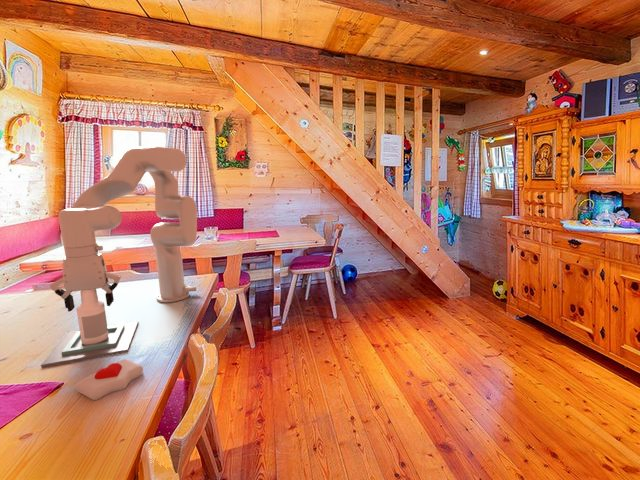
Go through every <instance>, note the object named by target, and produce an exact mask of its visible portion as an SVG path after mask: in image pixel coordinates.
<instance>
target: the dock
mask: <svg viewBox="0 0 640 480" xmlns="http://www.w3.org/2000/svg"><path fill="white" fill-rule="evenodd" d="M138 325H139V321H138V320H136V321H129V322H124V323H118V324H110V325H107V328H108V338H107V339H106V340H104V341H102V342H100V343H96V344H91V345H85V344H83V343H82V342H81V335H80V329H79V330H77V329H76V330H72V331H67V332H66V333H65V334H64V336H63V337H62V339H61V340H60V341H59V342H58V343H57V344H56V346H55V347H54V348H53V349H52V351H51V352H50V353H49V354H48V356H47V357H46V358H44V361H43V362H42V363H41V365H40V367H41V368H47V367H51V366H53V367H54V366H57V365H62V364H63V365H64V364H68V363H69V364H70V363H74V362H80V361H84V360H85V361H86V360H92V359H95V358H96V359H97V358H101V357H102V358H103V357H107V356H112V354H114V355H118V354H117V353H119V354H123V353H122V352H124V353H128V352H129V350H130V347H131V344H132V342H133V339H134V335H135V334H136V332H137V328H138Z"/></svg>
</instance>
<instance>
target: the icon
mask: <svg viewBox="0 0 640 480" xmlns="http://www.w3.org/2000/svg"><path fill="white" fill-rule="evenodd" d="M143 372H144V368H143V366H142V365H141V364H139V363H135V362H134V361H131V360H129V359H125V358H123V359H121V360H119V361H118V362H113V363H111V364H109V365H108V366H107V367H104V368H100V369H98V371H97V372H95V373H93V374H90V375H89V376H87V377H85V378H83V379H80V381H78V382H77V383H76V386H75V389H76V391H77V392H78V393H81V394H82V395H84V396H85V397H87V398H89V399H91V400H93V401H97V400H100V399H101V398H103V397H104V396H106V395H108V394H110V393H113V392H117V391H120V390H121V389H122V390H125V389H126V388H127V386H128V385H129V383H131V381H133V380H134V379H136V378H138V377H140V376H141V375H143ZM122 390H121V391H122Z"/></svg>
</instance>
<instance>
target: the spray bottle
mask: <svg viewBox="0 0 640 480" xmlns="http://www.w3.org/2000/svg"><path fill="white" fill-rule="evenodd" d="M79 292H80V300H81V304H79V305H77V307H76V314H77V315H76V316H77V321H78V327H79V330H80V335H81V342H82V343H83V344H85V345H91V344H96V343H100V342H102V341H104V340H106V339H107V338H108V328H107V326H108V322H107V315H106V308H105V303H104V302H103V301H102V300H99V297H98V293H97V289H91V290H82V291H79Z"/></svg>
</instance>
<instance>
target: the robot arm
mask: <svg viewBox="0 0 640 480" xmlns="http://www.w3.org/2000/svg"><path fill="white" fill-rule="evenodd" d="M186 166H187V157H186V154H185V153H184V152H183V150H181V149H179V148H175V147H173V148H172V147H162V146H134V147H129V148H127V149H126V150H124V152H123V154H121V156H120V158H119V159H118V160H117V162H116V163H115V165H114V167H113V168H112V169H111V171H110V172H109V174H108V175H107V176H106V177H104V178H102V179H101V180H99V181H98V182H96V183H94V184H93V185H92V186H89V188H87V189H85V190H84V191H83V192H82V193H81V194H80V195H79V196H78V198H77V199H76V200H75V202H74V203H73V205H72V206H71V208H66V209H62V210H60V211H59V212H58V220H59V226H60V227H59V228H60V233H61V238H62V244H63V249H64V254H65V256H64V257H63V260H62V277H61V278H59V279H57V280H55V281H54V282H52V283H51V284H50V285H49V288H50V289H51V290H52V291H53V292H54V294H56V295H57V296H59V297H60V298H62V299H63V301H64V306H65V309H67V312H71V311H73V310H74V309H75V302H74V297H73V294H71V293H73V292H80V291H82V290H91V289H96V290H97V289H102V290H103V291H105V294H104V295H105V301H106V306H108V307H110V306H111V305H112V304H113V302H114V300H115V299H114V293H113V291H114V290H115V289H116V288H117V287H118V285H119V283H120V281H121V279H122V276H120V275H117V274H114V273H110V272H108V270H107V266H106V262H105V259H104V257H103V254H102V253H99V252H100V251H104V247H103V245H98V243H97V240H96V239H97V238H96V233H95V232H96V231H97V232H99V231H110V230H111V231H112V230H114V229H116V228H118V226H120V225H121V223H122V220H123V216H122V213H121V211H120V210H119V209H118V208H116V207H114V206H111V205H107V203H110V202H111V201H113V200H117V199H119V198H123V197H125V196H127V195H129V194H132V193H133V192H134V191H135V190H136V188H137V186H138V185H139V184H140V181H141V180H142V179H143V177H144V175H145V173H147V172H148V173H149V175H150V176H151V177H152V180H153V181H154V193H155V194H154V208H155V209H154V211H155V214H156V216H157V217H158V218H159V219H164V220H179V222H174V221H173V222H164V221H163V222H159V223H156V224H154V225H153V226H152V228H151V229H150V233H149V234H150V235H149V236H150V239H151V242H152V245H153V248H154V253H155V254H154V255H155V260H156V268H157V276H158V283H159V284H158V286H159V294H157V295H156V301H157V302H159V303H164V304H165V303H174V302H175V303H177V302H179V301H183V300H185V299H187V298H189V296H190V292H197V291H198V289H197V286H194V285H186V284H187V283H186V282H185V275H184V267H183V266H184V264H183V255H182V253H181V250H180V248H179V247H191V246H192V245H194V244H195V243H196V240H197V235H198V233H197V232H198V225H197V224H198V208H197V204H196V203H197V202H196V200H194V198H193V197H192V196H189V195H185V194H184V195H183V194H182V195H180V194H179V182H178V180H177V178H176V176H175V175H174V173H172V172H181V171H183V170H184V169H185V168H186ZM110 279H111V280H113V283H112V284H109V281H110ZM62 284H63V287H64V289H63V288H61V287H60V285H62Z"/></svg>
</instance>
